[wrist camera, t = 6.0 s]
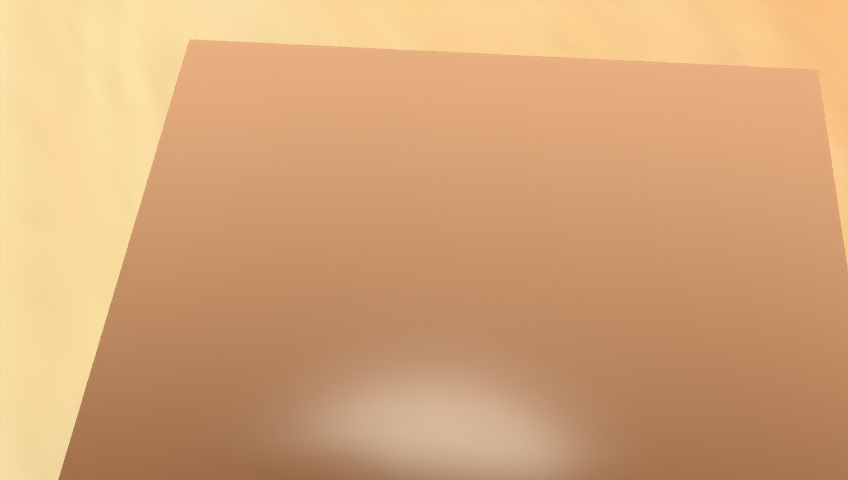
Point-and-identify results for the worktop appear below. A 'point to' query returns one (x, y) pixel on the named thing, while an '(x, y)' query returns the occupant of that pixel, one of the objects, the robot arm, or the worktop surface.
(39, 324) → the worktop surface
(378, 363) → the clay bar
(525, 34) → the worktop surface
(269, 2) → the worktop surface
